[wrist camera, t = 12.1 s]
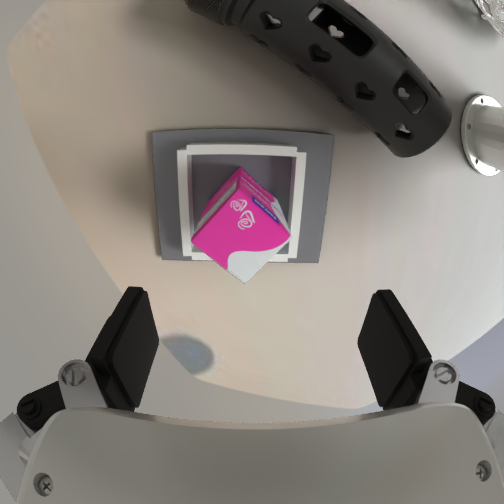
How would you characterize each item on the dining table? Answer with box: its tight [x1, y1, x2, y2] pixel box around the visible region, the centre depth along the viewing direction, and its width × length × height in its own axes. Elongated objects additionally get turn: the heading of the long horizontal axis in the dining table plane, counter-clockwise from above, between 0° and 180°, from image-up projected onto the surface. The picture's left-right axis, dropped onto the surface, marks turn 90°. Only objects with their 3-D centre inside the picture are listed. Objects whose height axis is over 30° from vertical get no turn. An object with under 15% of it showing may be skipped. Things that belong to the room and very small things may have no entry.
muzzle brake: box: [185, 0, 452, 157], centre depth 19 cm, size 10×28×10 cm, turn 54°
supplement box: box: [191, 167, 292, 283], centre depth 26 cm, size 6×6×12 cm
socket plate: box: [152, 129, 334, 263], centre depth 30 cm, size 20×16×4 cm
